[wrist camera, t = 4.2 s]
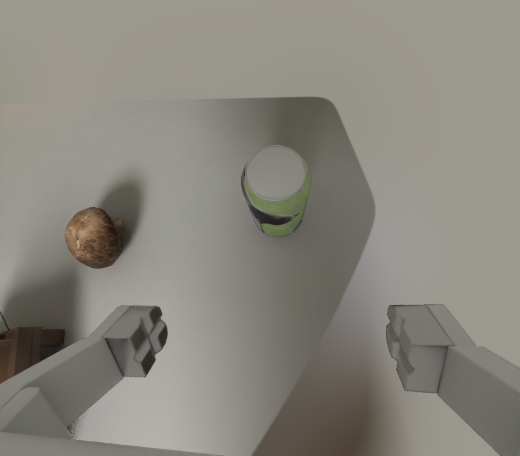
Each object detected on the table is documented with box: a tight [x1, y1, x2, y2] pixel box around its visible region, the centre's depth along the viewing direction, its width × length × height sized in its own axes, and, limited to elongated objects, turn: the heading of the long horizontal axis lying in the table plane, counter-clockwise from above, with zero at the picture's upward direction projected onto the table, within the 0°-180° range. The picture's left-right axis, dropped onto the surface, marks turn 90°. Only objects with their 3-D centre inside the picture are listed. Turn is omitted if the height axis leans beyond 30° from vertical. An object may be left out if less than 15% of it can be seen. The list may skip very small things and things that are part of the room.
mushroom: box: [65, 207, 123, 268], centre depth 32 cm, size 8×8×6 cm
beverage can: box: [241, 145, 311, 237], centre depth 26 cm, size 6×7×12 cm
